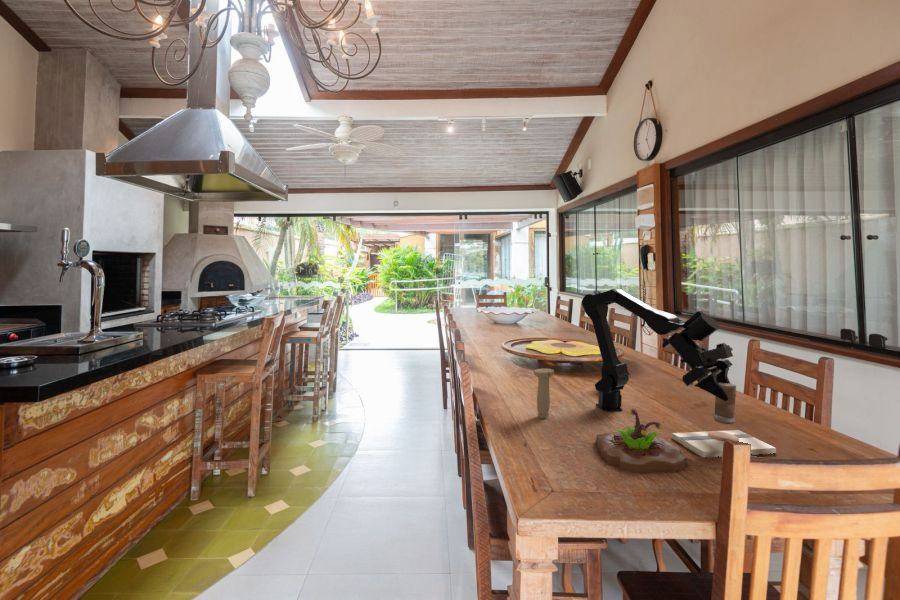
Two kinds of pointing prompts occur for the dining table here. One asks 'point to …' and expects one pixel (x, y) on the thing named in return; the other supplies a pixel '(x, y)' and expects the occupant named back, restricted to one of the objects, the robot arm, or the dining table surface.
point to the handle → (543, 391)
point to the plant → (640, 449)
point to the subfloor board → (719, 442)
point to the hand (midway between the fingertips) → (731, 398)
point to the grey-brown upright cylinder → (725, 405)
